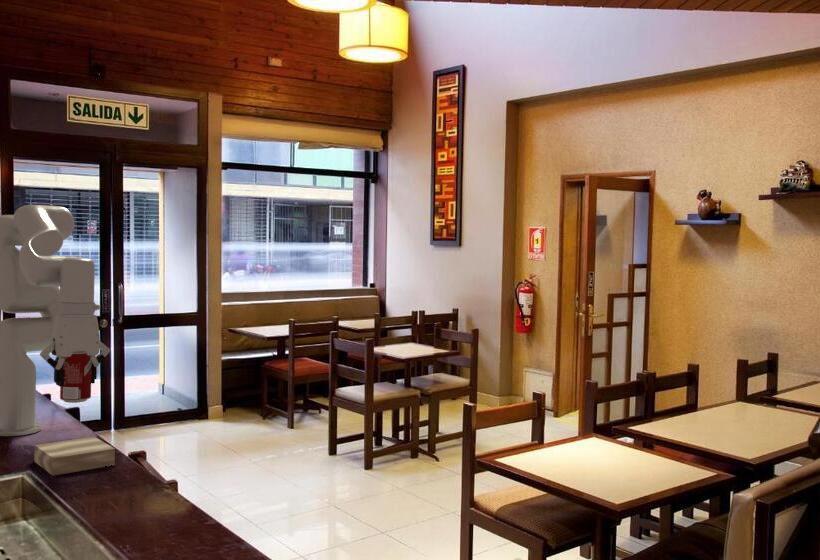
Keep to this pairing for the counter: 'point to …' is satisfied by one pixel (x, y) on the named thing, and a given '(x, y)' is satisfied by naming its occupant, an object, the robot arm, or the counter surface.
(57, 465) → the birch block
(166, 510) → the counter surface
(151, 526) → the counter surface
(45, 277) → the robot arm
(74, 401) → the soda can
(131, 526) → the counter surface
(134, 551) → the counter surface
